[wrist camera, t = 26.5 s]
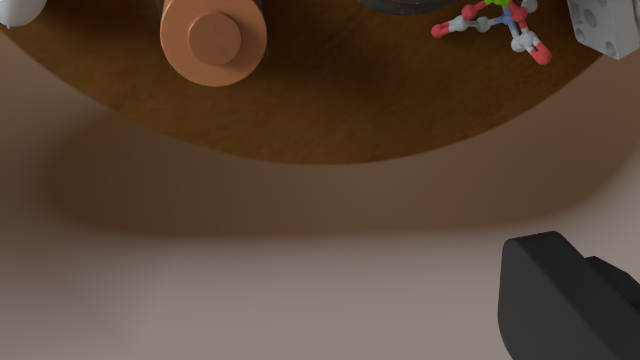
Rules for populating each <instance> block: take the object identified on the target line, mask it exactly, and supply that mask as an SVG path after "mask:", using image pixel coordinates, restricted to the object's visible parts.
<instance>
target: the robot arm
mask: <svg viewBox="0 0 640 360" xmlns="http://www.w3.org/2000/svg"><path fill="white" fill-rule="evenodd" d="M498 324H499V329H500V333H501V336H502V339H503V342H504V344H505V347H506V349H507V351H508V352H509V354H510V356H511V357H512V359H513V360H640V284H639V283H638V282H637V281H636V280H634V279H633V278H632V277H631V276H630V275H629V274H628V273H626V272H624V271H622V270H620V269H619V268H617V267H615V266H613V265H611V264H609V263H607V262H605V261H603V260H602V259H599V258H598V257H596V256H592V257H587V258H584V257H583V256H582V255H581V254H580V253H579V252H578V251H577V250H576V249H575V248H574V247H573V246H572V245H571V244H570V243H569V242H568V241H567V240H566V239H565V238H564V237H563V236H562V235H561V234H560V233H558V232H556V231H549V232H544V233H538V234H533V235H528V236H523V237H518V238H512V239H508V240H507V241H506V242H505V244H504V246H503V251H502V264H501V276H500V288H499V301H498Z"/></svg>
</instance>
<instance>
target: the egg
mask: <svg viewBox="0 0 640 360" xmlns="http://www.w3.org/2000/svg"><path fill="white" fill-rule="evenodd" d="M46 2H47V0H0V23H2V24H4V25H7V27H8V29H10V27H11V26H22V25H25V24H27V23H30V22H31V21H32V20H34V19H35V18H36V17H37V16H38V15H39V13H40V12H41V11H42V9H43V8H44V6H45V4H46Z"/></svg>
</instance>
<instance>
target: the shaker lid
mask: <svg viewBox="0 0 640 360" xmlns="http://www.w3.org/2000/svg"><path fill="white" fill-rule="evenodd" d="M160 38H161V44H162V48H163V51H164V53H165V56H166V58H167V59H168V61H169V63H170V64H171V65H172V66H173V68H174V69H175V70H176V71H177V72H178V73H179V74H181V75H182V76H183V77H185V78H187V79H188V80H190V81H192V82H194V83H197V84H200V85H204V86H211V87H219V86H226V85H231V84H233V83H236V82H238V81H240V80H242V79H244V78H245V77H247V76H248V75H249V74H250V73H251V72H253V70H254V69H255V68H256V67H257V66H258V64H259V63H260V61H261V59H262V57H263V55H264V52H265V49H266V44H267V28H266V23H265V20H264V17H263V14H262V12H261V10H260V8H259V6H258V4H257V2H256V0H165V2H164V7H163V13H162V20H161V27H160Z"/></svg>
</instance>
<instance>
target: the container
mask: <svg viewBox="0 0 640 360" xmlns="http://www.w3.org/2000/svg"><path fill="white" fill-rule="evenodd" d="M357 1H359V2H360V3H362V4H363V5H365V6H367V7H369V8H371V9H374V10H377V11H380V12H383V13H388V14H394V15H416V14H423V13H428V12H432V11H435V10H439V9H442V8H444V7H447V6H449V5H451V4H454V3H456V2H458V1H459V0H357Z"/></svg>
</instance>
